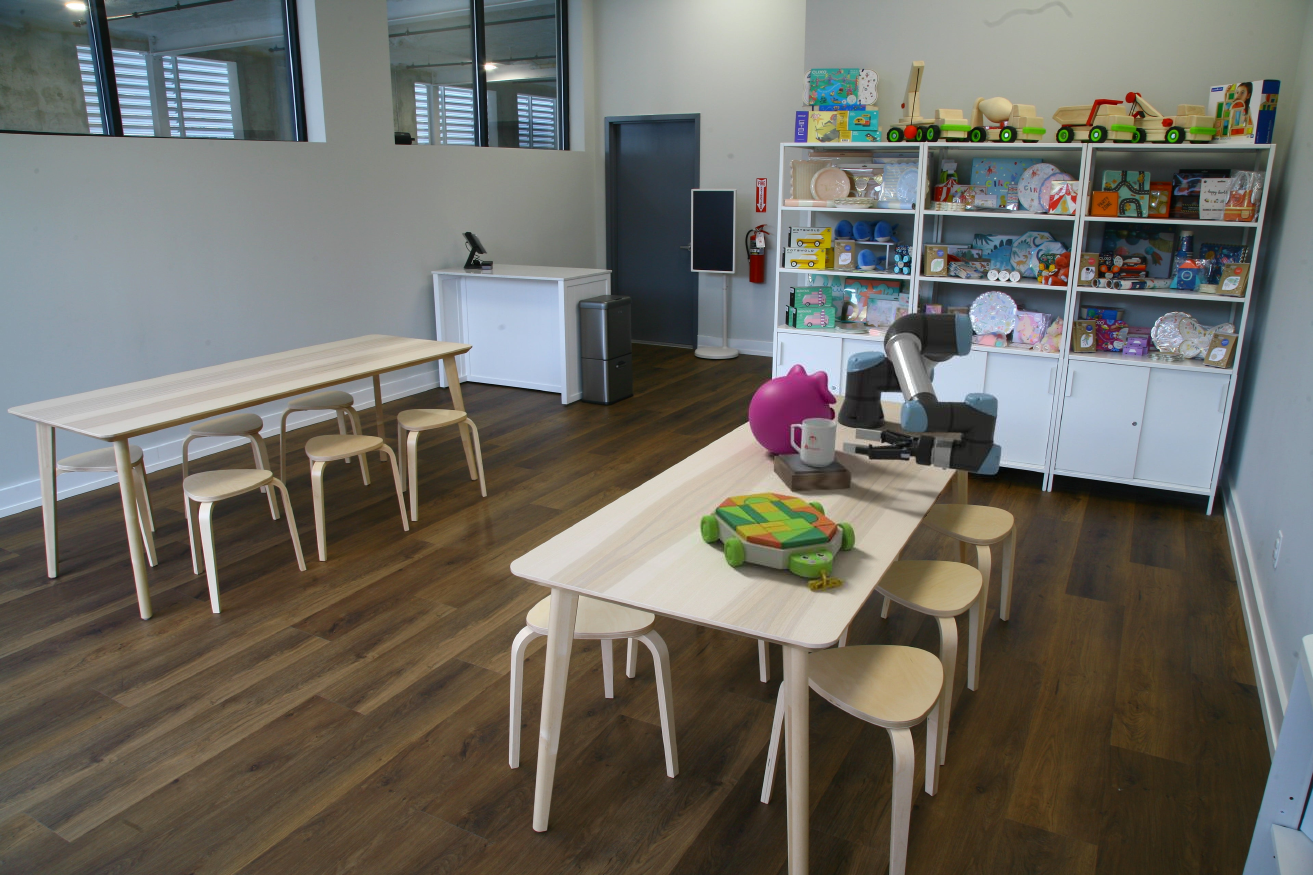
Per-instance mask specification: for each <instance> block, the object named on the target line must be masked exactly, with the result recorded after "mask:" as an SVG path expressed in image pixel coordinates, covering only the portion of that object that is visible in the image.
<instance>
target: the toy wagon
mask: <svg viewBox="0 0 1313 875" xmlns="http://www.w3.org/2000/svg"><path fill="white" fill-rule="evenodd" d="M699 528H700V533H701V534H700V535H701V537H702V540H703V541H704V542H705V543H706V544H709V543H710V544H711V543H715V542H717V541H718V539H720V541H721V542H722V543H723V544H724V545H723V553H724V558H725V560H726V562H727V564H728V566H730V567H732V568H736V567H741V566H742V565H743V564H744V562H747V563H751V564H755V565H756V564H757V565H761V566H763V567H768V568H774V569H778V570H785V569H786V570H787V569H788V570H789V571H791V572H792V573H793V574H795V575H798V576H800V577H804V578H809V579H810V578H811V579H812V578H813V580H809V581H808V582H807V585H808V589H809V590H810V591H811V592H815V591H825V590H830V588H840V587H842V586H843V583H844V582H843V581H842V580H841V579H840V578H838V577H835V576H832V577H827V576H829V575H830V574H831V573H832V572H833V565H834V558H835V557H836V555H837V553H838V552H839V551H840V550H842V551H849V550H852V549H853V548H854V546H855V543H856V535H855V530H854V528H853V527H852V526H851V524H850V523H848V522H846V521H845V522H840V523H835V522H834V521H833V520H832V519H830V518H829V517H827V516H826V513H825V509H824V507H823V505H822V503H820V502H818V501H814V502H813V501H812V502H806V501H805V500H803V498H801V497H799V496H798V497H797V496H792V495H786V494H779V493H775V492H761V493H752V494H743V495H735V496H729V497H727V498H726V499H724V500H723V501H722V502H721V503H720V504H719V505H718V506H717V507H716V508H714V510H712V511H711V512H710V515H709V514H708V515H703V516H702V517H701V519H700V525H699ZM818 578H820V579H818ZM814 579H816V580H814Z"/></svg>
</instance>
